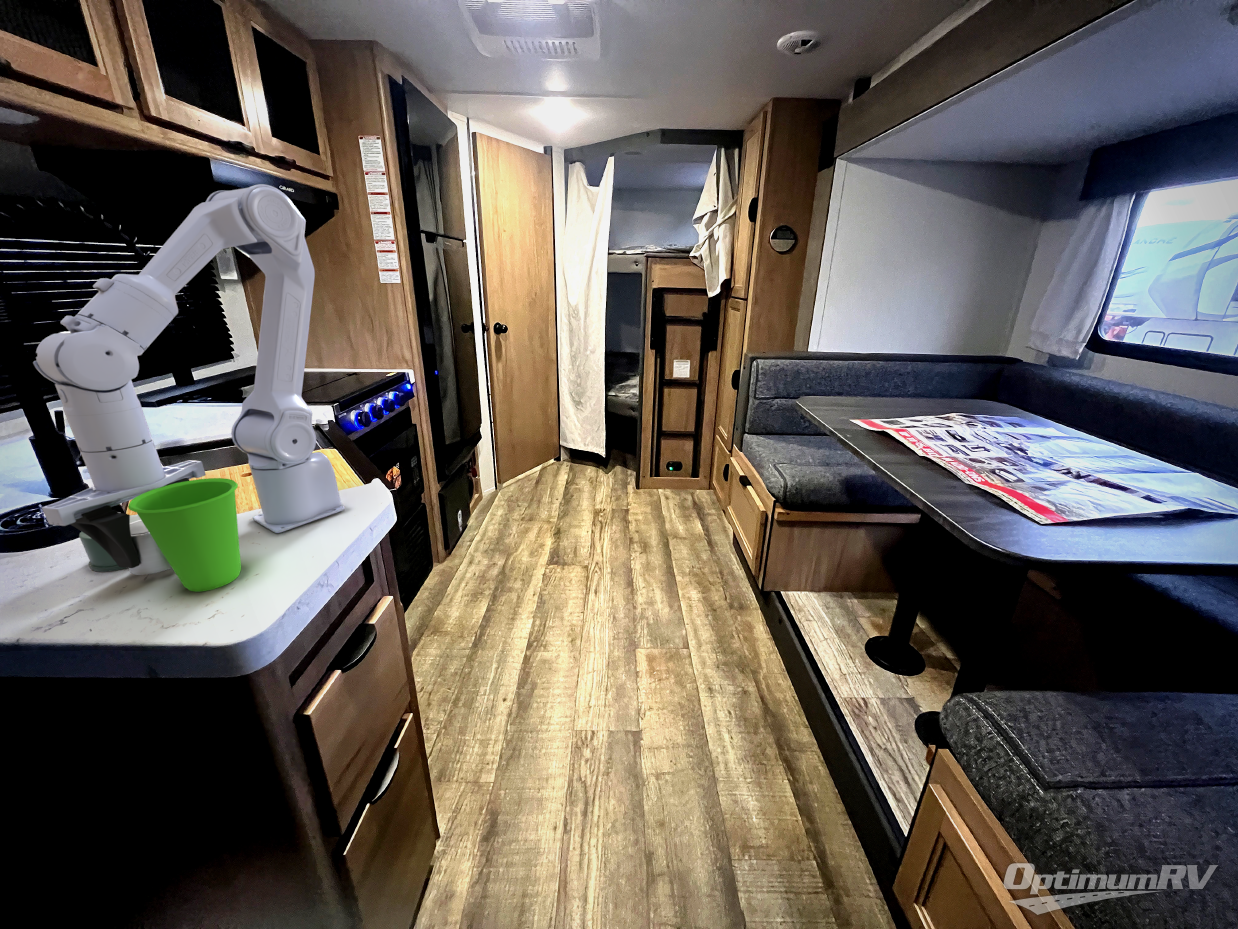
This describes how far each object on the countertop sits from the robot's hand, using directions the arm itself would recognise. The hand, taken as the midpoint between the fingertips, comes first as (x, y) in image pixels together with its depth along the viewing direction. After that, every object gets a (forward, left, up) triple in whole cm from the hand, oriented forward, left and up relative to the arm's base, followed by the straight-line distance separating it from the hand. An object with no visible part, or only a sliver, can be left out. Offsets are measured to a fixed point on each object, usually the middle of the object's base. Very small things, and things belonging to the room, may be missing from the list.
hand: (157, 552), depth 57 cm
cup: (-3, +8, -2) cm, 9 cm away
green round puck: (+1, -7, -2) cm, 7 cm away
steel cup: (0, 0, -1) cm, 1 cm away
